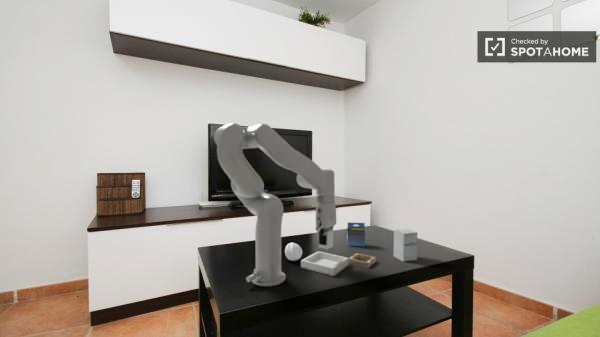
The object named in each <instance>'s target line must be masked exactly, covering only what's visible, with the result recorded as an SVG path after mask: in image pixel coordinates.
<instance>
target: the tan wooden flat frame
mask: <svg viewBox="0 0 600 337" xmlns="http://www.w3.org/2000/svg"><path fill="white" fill-rule="evenodd" d="M348 258H349V265H352V266H358V267H362V268H366V269H369V268H370V267H372V265H374V264H375V263H376V261H377V260H376V258H377V256H372V255H368V254H363V253H359V252H356V253H355V254H353V255H352V256H350V257H348Z"/></svg>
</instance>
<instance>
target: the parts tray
mask: <svg viewBox="0 0 600 337" xmlns="http://www.w3.org/2000/svg"><path fill="white" fill-rule="evenodd" d="M349 258H350V257H345V256H341V255H338V254H337V255H336V254H333V253H328V252H325V251H321V250H319V251H316V252H314V253H312V254H310V255H308V256H307V257H305V258H303V259H301V260H300V268H301V269H305V270H309V271H312V272H314V273H315V272H316V273H319V274H323V275H327V276H330V277H334V276H336V275H337V274H338V273H340V272H341V271H342V270H344V269H346V267H348V266H349V265H350V264H349Z"/></svg>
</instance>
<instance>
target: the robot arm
mask: <svg viewBox="0 0 600 337" xmlns="http://www.w3.org/2000/svg"><path fill="white" fill-rule="evenodd" d="M213 140H214V143H215V145H216V146H217V148H216V154H217V161H218V165H220V168H221V169H222V170H223V172H224V173H225V174H226V176H228V179H229V180H230V187H231V189H232V192H233V193H234V195H236V197H237V198H238V199H239V201H240V202H241V203H242V204H243V206H244V207H245V208H246V209H247V210H248V211H249V212H250V214H252V215H254V216H256V224H255V231H254V232H255V235H254V236H255V239H254V240H255V268H254V269H253V273H252V274H249V275H248V276H246V278H245V280H246V282H247V283H250V282H251V283H252V284H254V285H256V286H259V287H273V286H274V287H275V286H278V285H280V284H282V283H284V282H285V280H286V273H284V272H283V271H282V224H283V223H282V222H283V216H284V204H283V202H282V200H281V199H280V198H279V197H278V196H277V195H274V194H270V193H266V192H265V190H264V188H265V184H264V181H263V178H261V176H260V175H259V174H258V172H256V170H255V169H254V168H253V167H252V165H251V164H250V163H249V161H248V159H246V157H245V156H246V155H244V152H243V150H244V149H245V150H246V149H259V150H260V151H262V152H263V153H264V154H265V155H266V156H267V157H269V158H270V159H271V160H272V161H273V162H274V163H275V164H277V165H278V166H279V167H282V168H283V169H286V170H289V171H292V172H293V173H295V174H297V175H296V183H297V184H298V186H299V187H301V188H305V189H311V190H316V191H315V192H316V194H315V196H316V201H315V202H316V208H315V231H316V232H317V235H319V244H321V245H326V235H325V233H326V229H327V228H330V227H333V228H335V227H334V226H335V225H337V210H336V209H337V208H336V203H335V195H336V194H335V171H334V170H332V169H322V168H321V167H320V166H318V164H317V163H316V162H315V161H313V160H312V159H311V158H310V157H308V156H306V155H305V154H303V153H301V152H300V151H298V150H297V149H295V148H293V147H292V146H291V145H290V144H289V143H288V142H287V141H286V140H285V139H284V138H283V137H281V135H280V134H279V133H277V131H275V129H273V128H272V127H271V126H270V125H268V124H266V123H259V124H256V125H251V126H241V125H240V124H238V123H235V122H229V123H227V124H224V125H222V126H220V127H218V128H217V129H216V130H215V131H214V134H213ZM321 229H323V231H322V230H321Z"/></svg>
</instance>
